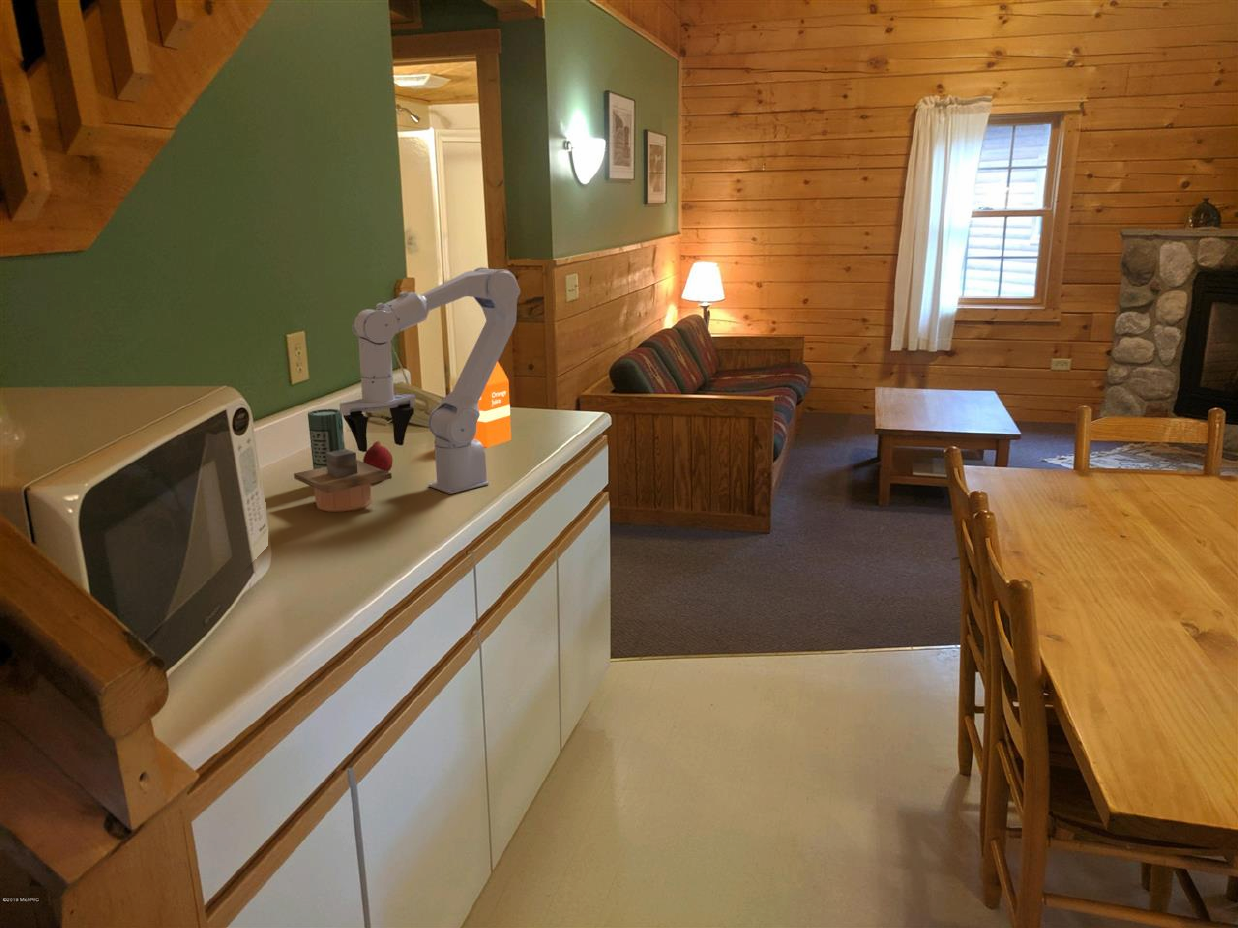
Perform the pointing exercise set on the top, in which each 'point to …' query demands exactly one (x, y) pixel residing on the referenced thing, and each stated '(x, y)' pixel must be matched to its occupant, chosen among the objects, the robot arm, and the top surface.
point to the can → (325, 434)
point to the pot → (344, 499)
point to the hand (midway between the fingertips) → (381, 447)
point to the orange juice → (494, 410)
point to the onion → (378, 457)
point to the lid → (342, 473)
